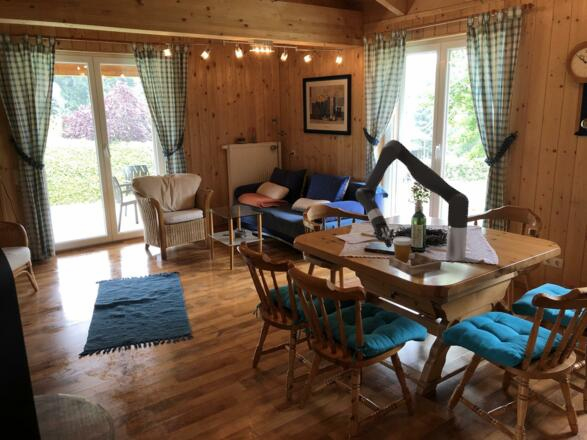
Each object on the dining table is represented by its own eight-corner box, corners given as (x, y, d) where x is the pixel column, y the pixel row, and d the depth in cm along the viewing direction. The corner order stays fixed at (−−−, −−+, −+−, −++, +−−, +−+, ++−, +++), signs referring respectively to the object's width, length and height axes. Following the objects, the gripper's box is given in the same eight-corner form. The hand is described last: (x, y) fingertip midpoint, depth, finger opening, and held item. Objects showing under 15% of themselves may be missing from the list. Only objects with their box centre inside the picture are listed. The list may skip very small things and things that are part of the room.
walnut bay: (389, 264, 230) (389, 257, 229) (416, 259, 237) (416, 252, 236) (411, 275, 215) (412, 267, 214) (440, 269, 222) (441, 261, 221)
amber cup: (414, 260, 236) (415, 237, 233) (407, 266, 228) (408, 242, 225) (396, 257, 241) (397, 235, 238) (389, 262, 233) (389, 239, 230)
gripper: (369, 216, 244) (382, 245, 236) (390, 213, 250) (403, 241, 242) (363, 224, 250) (376, 252, 242) (383, 221, 256) (396, 248, 248)
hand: (389, 246), depth 242 cm, fingers closed
